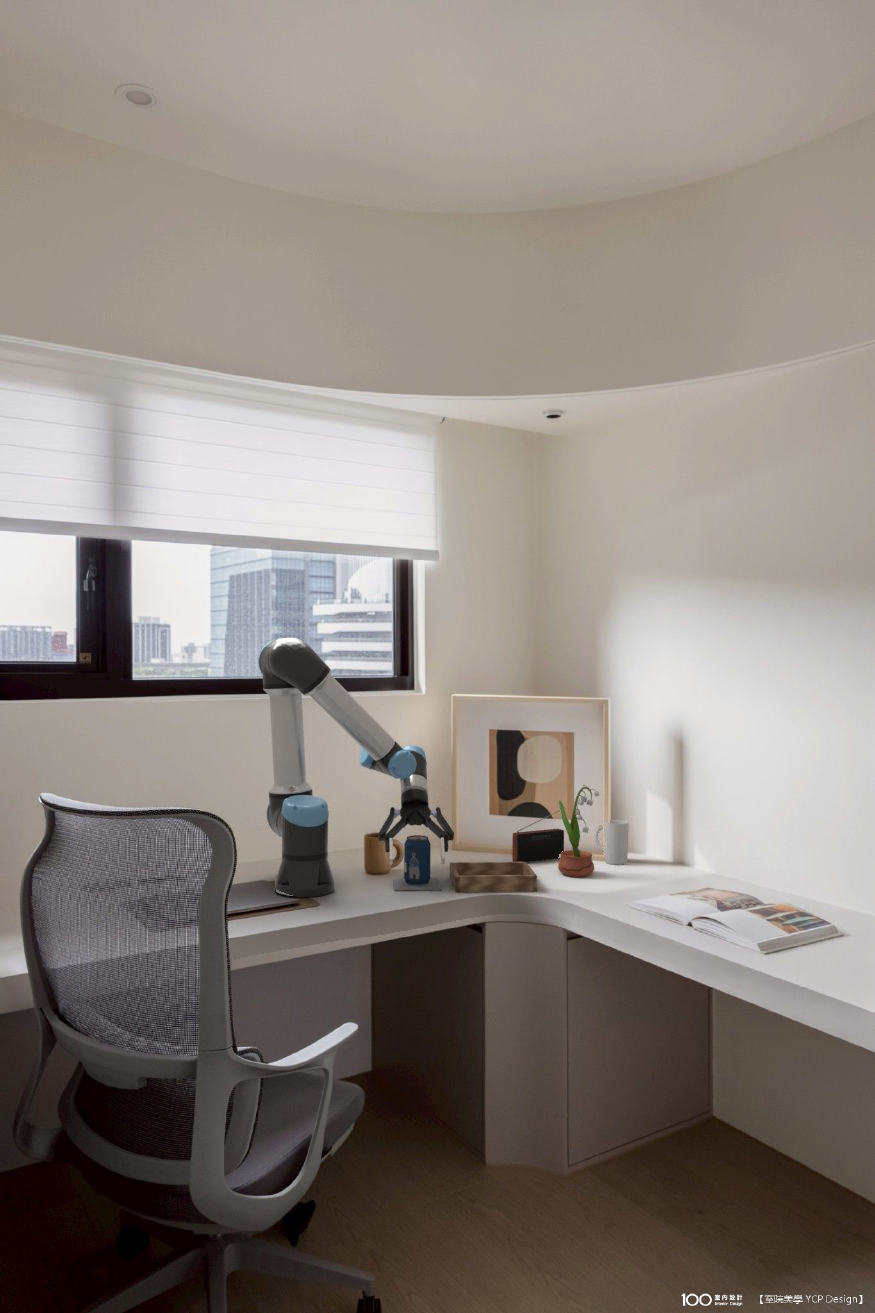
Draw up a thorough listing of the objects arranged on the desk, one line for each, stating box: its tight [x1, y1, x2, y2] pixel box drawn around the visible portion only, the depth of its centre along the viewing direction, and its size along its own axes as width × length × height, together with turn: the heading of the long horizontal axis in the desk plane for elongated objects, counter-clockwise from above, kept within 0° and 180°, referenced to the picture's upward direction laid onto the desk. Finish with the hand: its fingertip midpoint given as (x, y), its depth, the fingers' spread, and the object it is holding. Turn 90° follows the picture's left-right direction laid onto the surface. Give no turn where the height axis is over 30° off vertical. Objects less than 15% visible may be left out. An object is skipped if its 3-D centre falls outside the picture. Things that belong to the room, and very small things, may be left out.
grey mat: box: [392, 876, 442, 892], centre depth 239 cm, size 12×12×1 cm
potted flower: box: [557, 784, 600, 878], centre depth 253 cm, size 12×10×25 cm
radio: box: [511, 809, 565, 863], centre depth 270 cm, size 19×3×15 cm, turn 118°
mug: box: [594, 819, 629, 866], centre depth 268 cm, size 10×7×12 cm, turn 61°
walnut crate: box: [449, 861, 538, 893], centre depth 241 cm, size 21×16×4 cm
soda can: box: [403, 834, 431, 886], centre depth 239 cm, size 7×7×12 cm
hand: (417, 861), depth 237 cm, fingers open, 13 cm apart
